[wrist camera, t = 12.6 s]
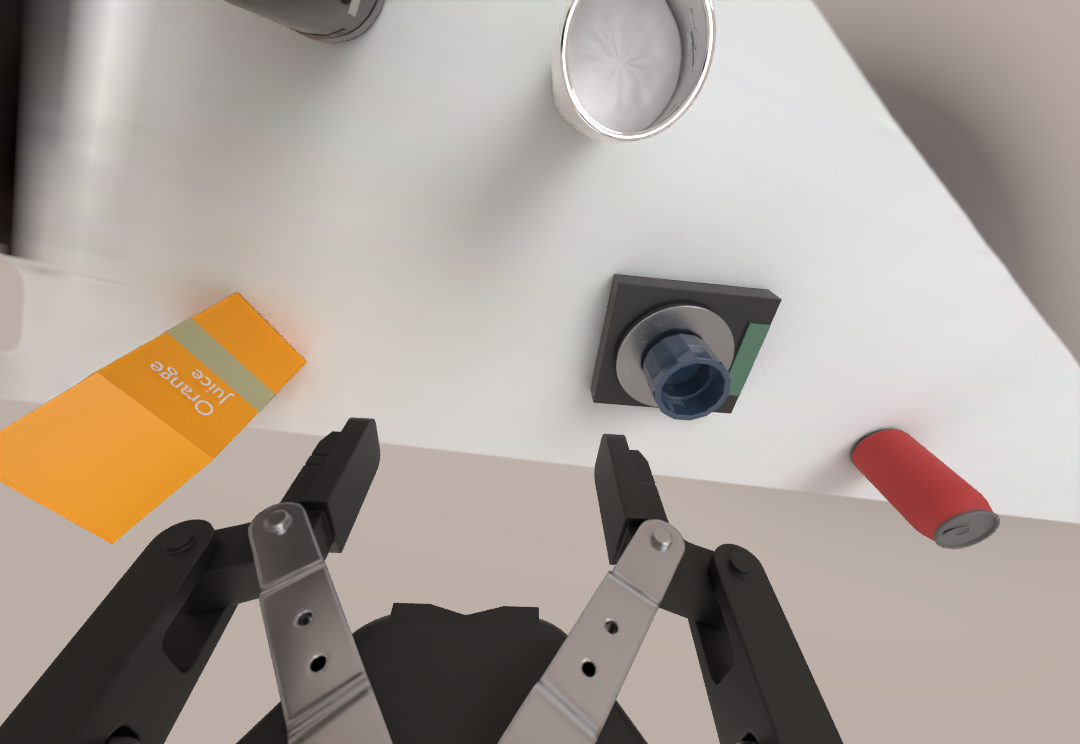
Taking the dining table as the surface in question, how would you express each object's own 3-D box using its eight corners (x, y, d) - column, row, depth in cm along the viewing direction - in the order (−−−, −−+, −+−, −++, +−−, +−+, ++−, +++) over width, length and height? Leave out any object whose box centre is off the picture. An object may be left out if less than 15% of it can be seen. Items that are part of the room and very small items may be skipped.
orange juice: (255, 392, 44) (77, 563, 27) (182, 327, 39) (-84, 480, 22) (308, 361, 42) (153, 524, 25) (237, 290, 38) (-7, 427, 21)
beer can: (851, 433, 48) (938, 516, 38) (911, 420, 47) (1017, 502, 37) (846, 471, 51) (924, 557, 41) (901, 460, 50) (996, 545, 40)
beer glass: (614, -4, 27) (685, -118, 14) (655, 101, 30) (743, 84, 18) (527, 64, 29) (523, 16, 16) (574, 156, 32) (601, 177, 19)
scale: (614, 273, 37) (619, 283, 35) (768, 289, 38) (784, 300, 36) (590, 389, 44) (593, 404, 42) (721, 400, 45) (732, 415, 43)
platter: (628, 296, 35) (630, 300, 35) (748, 308, 36) (753, 312, 35) (605, 398, 41) (606, 403, 40) (709, 407, 42) (712, 411, 41)
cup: (650, 328, 36) (666, 355, 32) (718, 334, 36) (742, 362, 32) (634, 385, 39) (646, 417, 35) (697, 390, 40) (716, 422, 35)
